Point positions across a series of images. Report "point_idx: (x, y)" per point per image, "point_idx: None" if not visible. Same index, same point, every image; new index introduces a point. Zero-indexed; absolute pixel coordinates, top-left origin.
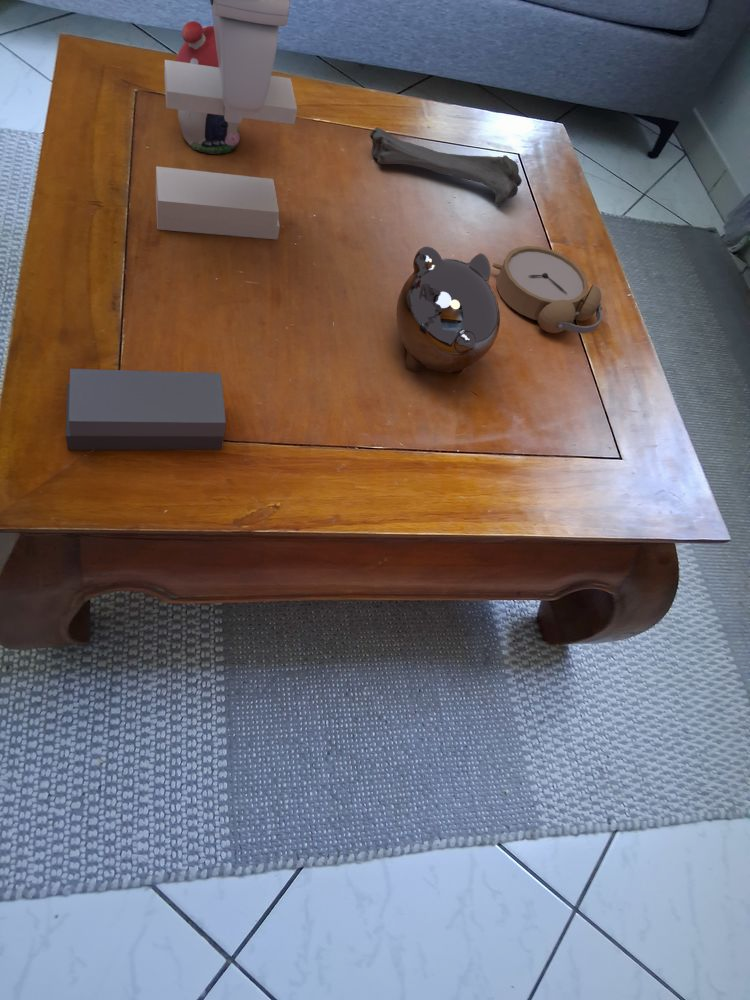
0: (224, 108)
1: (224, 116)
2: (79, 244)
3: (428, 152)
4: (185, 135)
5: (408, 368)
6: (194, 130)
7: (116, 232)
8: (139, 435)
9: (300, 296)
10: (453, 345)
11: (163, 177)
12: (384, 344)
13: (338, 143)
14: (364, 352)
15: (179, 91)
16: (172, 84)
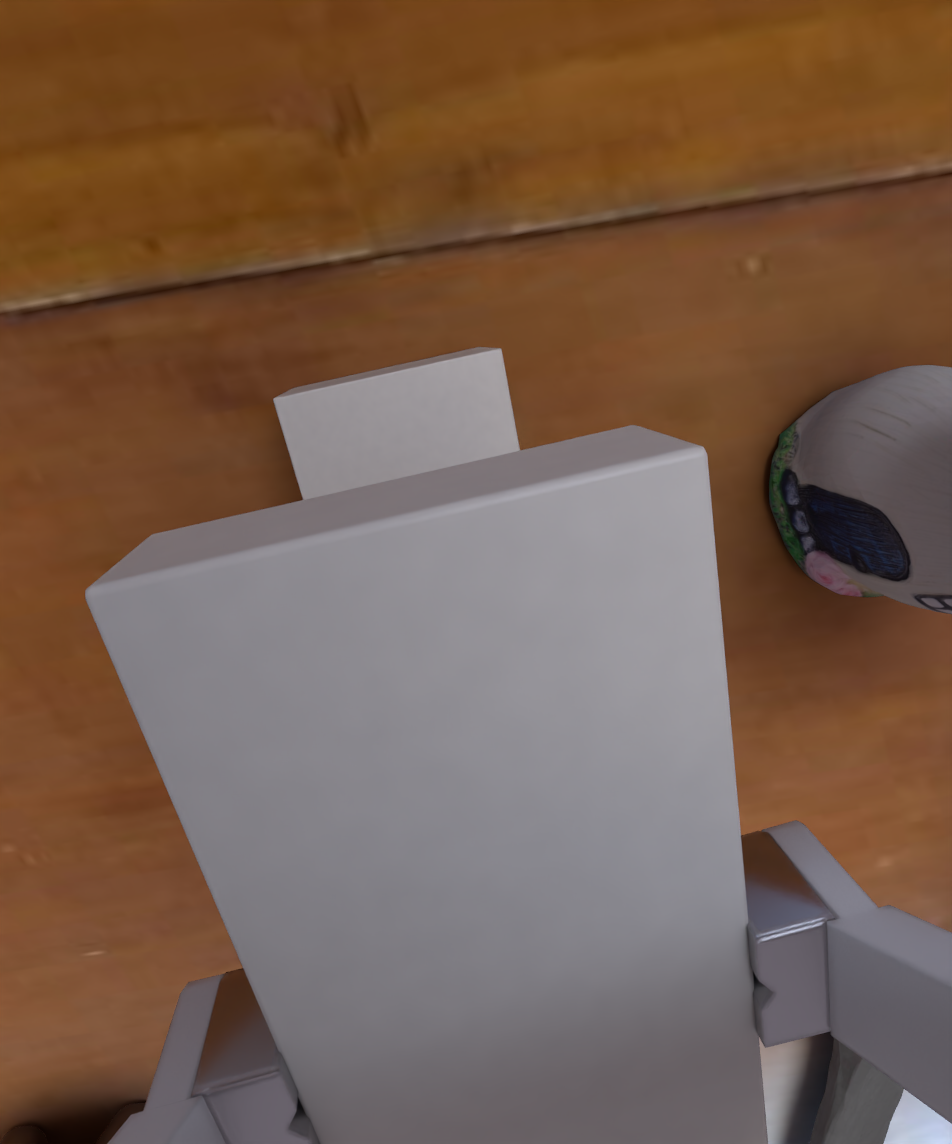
0: (207, 1035)
1: (178, 1005)
2: (72, 97)
3: (873, 1115)
4: (826, 402)
5: (4, 1136)
6: (821, 447)
7: (211, 237)
8: None
9: (168, 860)
10: None
11: (436, 392)
12: (79, 1070)
13: (913, 848)
14: (19, 1035)
15: (149, 713)
16: (253, 618)
